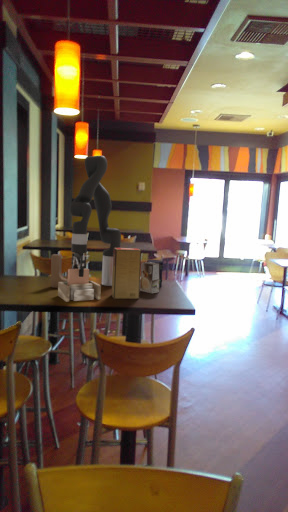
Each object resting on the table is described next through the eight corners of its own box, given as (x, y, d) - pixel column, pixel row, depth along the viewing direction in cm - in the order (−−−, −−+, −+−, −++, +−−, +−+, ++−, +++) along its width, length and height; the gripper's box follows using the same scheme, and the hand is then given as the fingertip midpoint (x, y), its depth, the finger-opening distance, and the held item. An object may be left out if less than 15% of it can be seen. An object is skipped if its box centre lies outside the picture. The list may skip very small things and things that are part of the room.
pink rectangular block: (86, 295, 201) (87, 268, 200) (88, 296, 199) (89, 269, 197) (67, 296, 197) (67, 268, 195) (69, 298, 194) (69, 269, 192)
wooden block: (68, 287, 219) (69, 255, 217) (66, 288, 215) (67, 256, 212) (53, 285, 220) (54, 253, 218) (50, 287, 216) (51, 254, 214)
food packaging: (135, 294, 209) (138, 248, 206) (139, 299, 200) (142, 250, 197) (110, 294, 206) (113, 247, 203) (113, 299, 197) (115, 249, 194)
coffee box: (159, 292, 218) (161, 263, 216) (151, 293, 213) (153, 264, 212) (147, 289, 224) (148, 261, 222) (139, 290, 220) (140, 262, 218)
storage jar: (162, 287, 231) (163, 262, 230) (145, 286, 231) (146, 261, 230) (161, 284, 241) (163, 260, 239) (145, 283, 241) (147, 259, 240)
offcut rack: (90, 293, 206) (91, 280, 205) (100, 299, 194) (101, 285, 194) (57, 295, 197) (58, 281, 197) (66, 301, 186) (66, 287, 185)
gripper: (91, 244, 190) (90, 277, 192) (81, 241, 202) (80, 272, 204) (76, 244, 186) (75, 278, 188) (67, 241, 199) (66, 273, 201)
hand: (78, 275), depth 196 cm, fingers open, 8 cm apart
